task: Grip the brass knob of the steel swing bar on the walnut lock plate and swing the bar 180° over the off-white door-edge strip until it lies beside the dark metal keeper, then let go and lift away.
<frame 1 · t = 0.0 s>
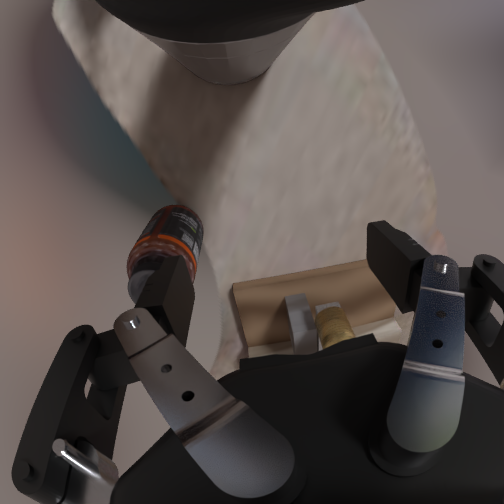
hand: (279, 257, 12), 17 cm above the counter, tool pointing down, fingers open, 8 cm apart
supplement bottle: (177, 228, 30), on the counter
swing bar: (334, 366, 27), point 10 cm above the counter, hinge at 0.0°
lock base: (315, 333, 38), on the counter
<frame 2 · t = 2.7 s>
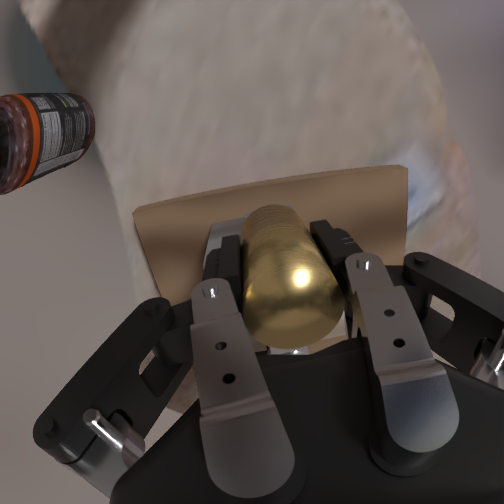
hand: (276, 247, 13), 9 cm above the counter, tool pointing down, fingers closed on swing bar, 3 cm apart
supplement bottle: (69, 129, 17), on the counter
swing bar: (290, 342, 14), point 10 cm above the counter, hinge at -0.1°, touching gripper
lock base: (278, 302, 25), on the counter
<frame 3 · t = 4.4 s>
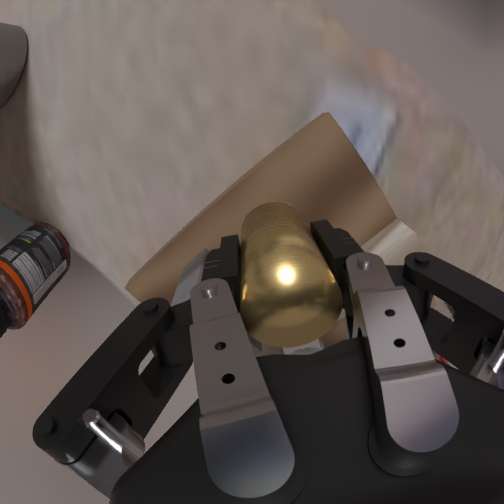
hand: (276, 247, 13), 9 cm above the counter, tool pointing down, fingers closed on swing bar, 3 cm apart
supplement bottle: (50, 247, 22), on the counter
swing bar: (299, 339, 14), point 10 cm above the counter, hinge at -25.2°, touching gripper
lock base: (290, 299, 25), on the counter
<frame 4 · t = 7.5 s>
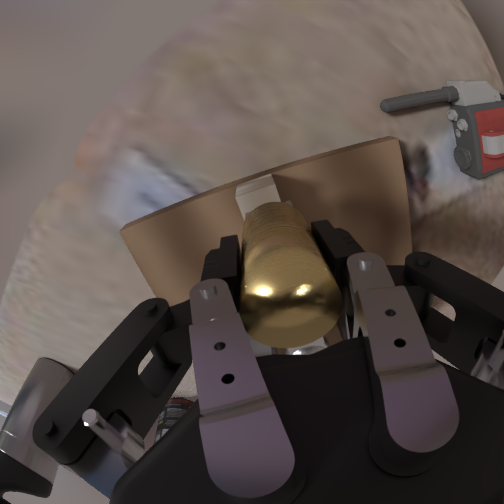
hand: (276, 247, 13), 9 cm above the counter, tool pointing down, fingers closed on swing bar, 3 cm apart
supplement bottle: (183, 406, 34), on the counter
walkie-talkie: (467, 124, 18), on the counter
swing bar: (302, 338, 14), point 10 cm above the counter, hinge at -92.5°, touching gripper
lock base: (295, 297, 25), on the counter
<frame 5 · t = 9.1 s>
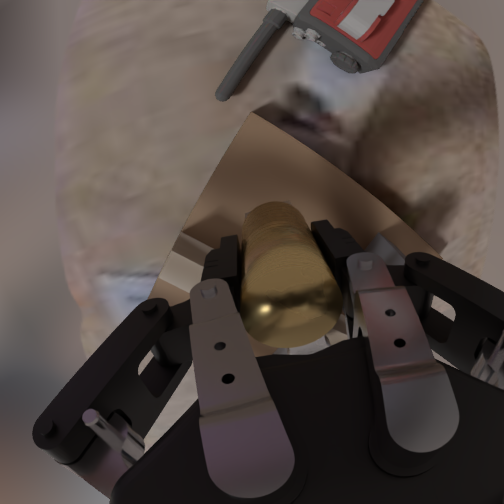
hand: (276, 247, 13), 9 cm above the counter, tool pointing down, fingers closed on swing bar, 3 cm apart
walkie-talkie: (329, 23, 15), on the counter
swing bar: (304, 337, 14), point 10 cm above the counter, hinge at -130.9°, touching gripper
lock base: (296, 296, 25), on the counter
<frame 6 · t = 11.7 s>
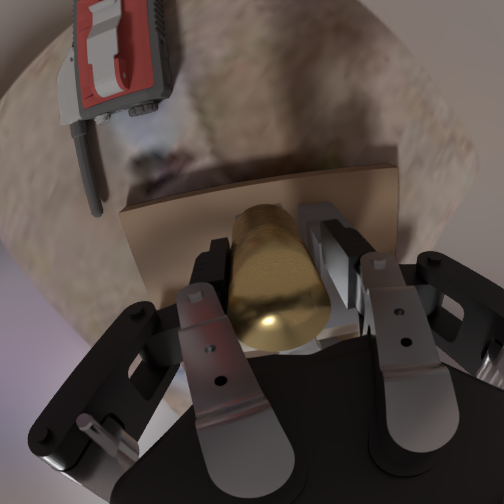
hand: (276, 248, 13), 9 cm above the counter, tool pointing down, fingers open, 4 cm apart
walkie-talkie: (118, 82, 16), on the counter
swing bar: (294, 341, 14), point 10 cm above the counter, hinge at -172.9°, touching gripper
lock base: (287, 299, 25), on the counter
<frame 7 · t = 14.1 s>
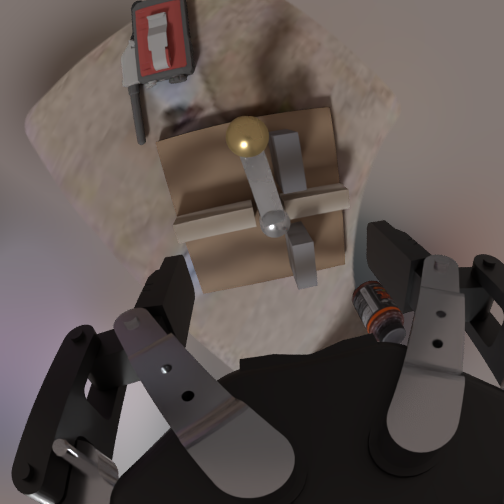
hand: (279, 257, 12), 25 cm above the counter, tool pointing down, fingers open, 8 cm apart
supplement bottle: (366, 293, 45), on the counter
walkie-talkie: (160, 64, 27), on the counter
swing bar: (263, 185, 25), point 10 cm above the counter, hinge at -172.9°
lock base: (267, 201, 36), on the counter
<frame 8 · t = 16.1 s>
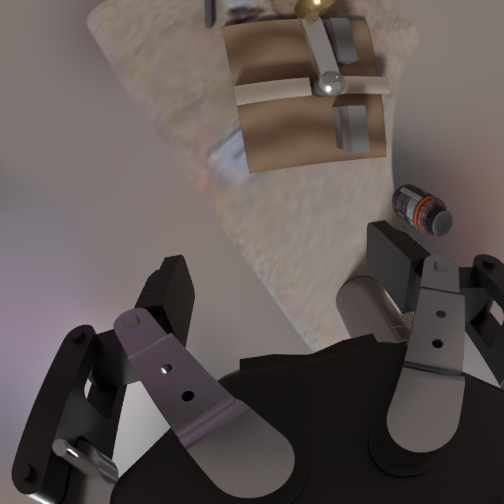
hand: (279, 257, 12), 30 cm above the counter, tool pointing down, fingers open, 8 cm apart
supplement bottle: (404, 199, 42), on the counter
swing bar: (326, 40, 23), point 10 cm above the counter, hinge at -172.9°
lock base: (316, 88, 34), on the counter
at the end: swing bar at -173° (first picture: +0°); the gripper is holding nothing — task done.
